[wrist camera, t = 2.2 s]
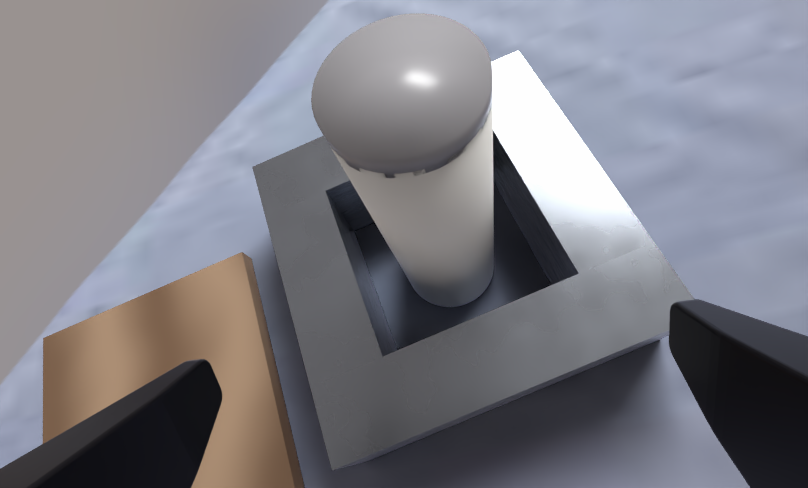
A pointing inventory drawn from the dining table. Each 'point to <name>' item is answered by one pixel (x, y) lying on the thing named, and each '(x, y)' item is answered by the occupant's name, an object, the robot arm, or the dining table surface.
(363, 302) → the collar
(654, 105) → the dining table surface
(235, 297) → the pad
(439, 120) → the dome-capped cylinder
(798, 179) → the dining table surface
